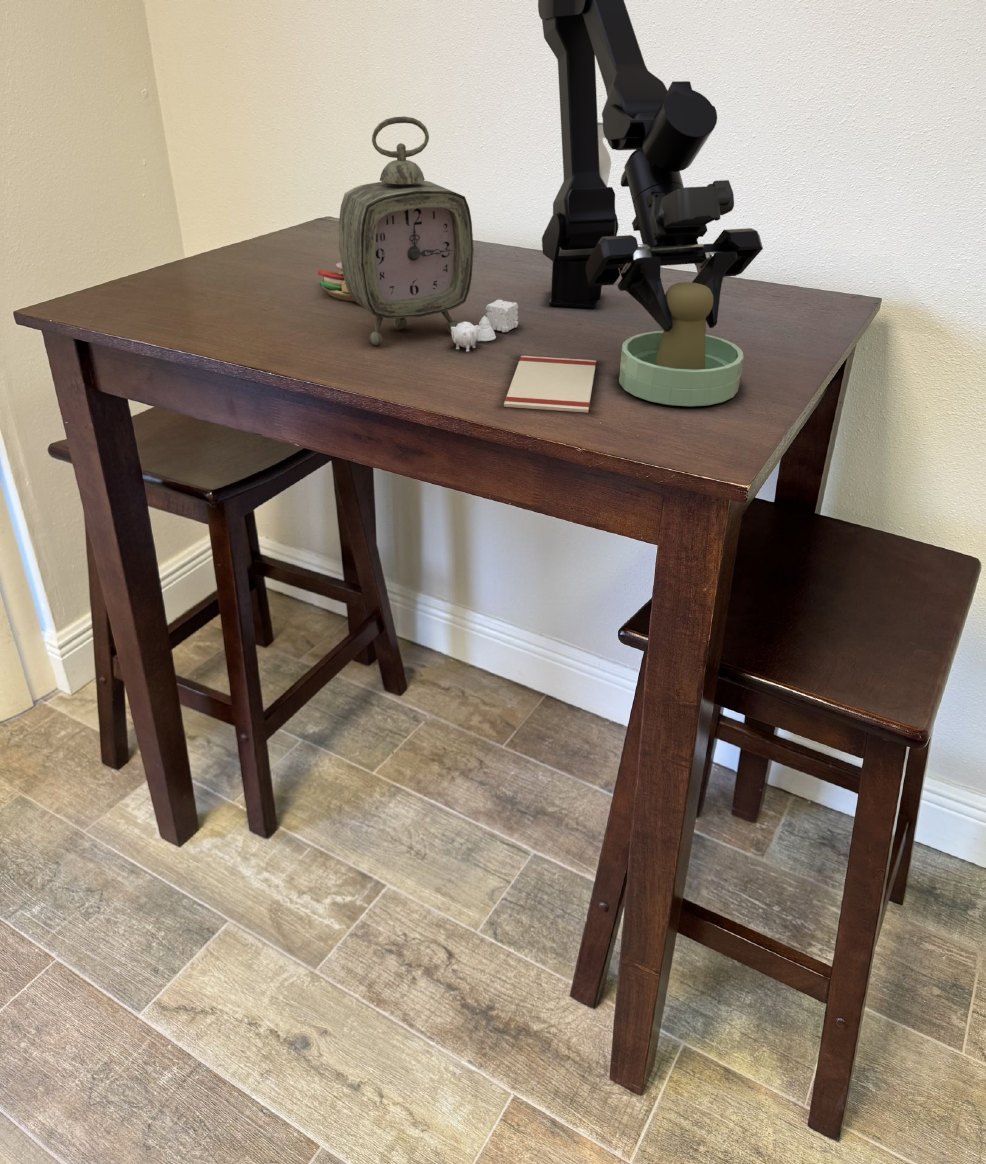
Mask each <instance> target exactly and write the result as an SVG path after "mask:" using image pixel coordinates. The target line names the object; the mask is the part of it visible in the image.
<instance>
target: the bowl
mask: <svg viewBox="0 0 986 1164" xmlns="http://www.w3.org/2000/svg"><path fill="white" fill-rule="evenodd" d="M663 331H664V330H655V331H648V332H643V333H638V334H635V335H633V336H630V337H628V338H627V339H625V341H623V343H622V344H621V355H620V367H619V377H618V383H619V385H620V386H621V387H622V388H623V390H624V391H625V392H627V393H629V394H631V395H632V396H634V397H636V398H639V399H642V400H645V401H647V402H652V403H657V404H661V405H665V406H666V405H667V406H676V407H677V406H678V407H680V406H681V407H703V406H704V407H705V406H712V405H715V404H721V403H725V402H726V401H728V400H730V399H732V398H734V397H735V396H736V394H737V393H738V391H739V388H740V382H741V376H742V369H743V366H744V365H743V364H744V358H745V357H744V353H743V350H742V349H741V348H740V347H739V346H737V344H735V343H733V342H731V341H728V340H727V339H725V338H721V337H718V336H715V335H712V334H707V333H706V348H705V369H700V370H688V369H674V368H668V367H662V366H657V365H655V363H656V359H657V355H658V351H659V347H660V343H661V339H662V335H663Z"/></svg>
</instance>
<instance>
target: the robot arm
mask: <svg viewBox="0 0 986 1164" xmlns="http://www.w3.org/2000/svg"><path fill="white" fill-rule="evenodd" d="M537 10H538V11H537V12H538V16H539V18H540V20H541V22H542V33H543V38H544V40H545V42H546V43H547V45H548V47H549V48H550V50H551V52H552V53H553V55H554V56H555V58H556V61H557V72H558V88H559V89H558V93H559V112H560V131H561V132H560V133H561V134H560V135H561V151H562V152H561V153H562V170H563V171H562V172H563V182H562V184H561V186H560V188H559V190H558V191H557V194H556V196H555V198H554V200H553V202H552V215H551V218H550V220H549V222H548V224H547V226H546V228H545V230H544V233H543V235H542V237H541V247H542V248H541V249H542V254H543V255H544V256H545V257H546V258H548V259H549V260H550V261H552V270H551V274H552V275H551V288H550V289H551V290H550V291H551V293H550V298H549V300H548V301H549V302H548V305H549V306H553V307H567V308H568V307H571V308H586V309H595V308H596V307H597V302H599V301H601V298H602V289H603V287H604V286H614V285H615V283H616V282H617V281H618V280H619V278H620V277H621V279H620V281H619V282H618V283H617V289H618V291H620V292H621V291H622V292H623V291H625V292H627V293H628V294H629V296H630V297H632V298H633V299H634V300H635V301H636V302H638V303H639V304H640V306H642V307H643V309H644V310H645V311H646V312H647V313H648V314H649V315H650V316H651V317H652V319H653V320H654V321H655V322H656V324H658V326H660V328H661V329H662V331H665V332H669V331H670V330H671V328H672V322H671V315H670V311H669V307H668V304H667V300H666V297H665V294H666V292H665V290H664V286H663V282H662V279H661V267H664V266H666V267H667V266H678V265H693V264H694V266H695V268H696V271H697V275H696V277H695V278H694V279H693V280H692V281H691V283H698V284H702V285H705V286H706V287H708V288H709V289H710V290H711V292H712V294H713V300H714V301H713V307H712V309H711V312H710V313H709V315H708V316H707V317H706V325H707V326H708V327H709V329H713V328H715V327H716V325H717V324H718V318H719V317H718V316H719V310H720V309H719V307H720V299H721V293H722V284H723V280H724V278H730V277H737V276H738V275H741V274H742V273H743V272H744V271H745V270H746V269H747V268H748V267H749V265H751V263H752V262H753V261H754V260H755V259H756V258H757V256H758V255H759V254H760V253H761V252H762V250H763V249H764V248H763V243H762V240H761V236H760V234H759V231H758V230H756V229H754V228H752V227H750V228H747V227H746V228H730V229H729V228H728V229H723V230H722V231H721V232H720V234H719V235H718V236H717V237H716V239H715V240H714V242H713V243H699V240H698V239H699V238H703V237H704V236H705V235H706V233H707V232H708V227H707V225H708V224H710V223H711V222H713V221H716V222H718V221H719V220H721V216H724V215H727V214H729V213H730V212H733V210H734V207H735V197H734V195H735V194H734V190H733V188H732V185H731V182H730V180H729V179H725V180H723V179H722V180H720V179H719V180H714V181H712V183H708V184H707V186H688V187H684V182H683V179H682V175H681V171H685V170H686V169H688V168H689V167H690V166H691V165H692V163H694V161H695V159H696V158H697V156H698V155H699V153H700V151H701V150H702V148H703V147H704V145H705V144H706V142H707V140H708V139H709V137H710V136H711V134H712V132H713V131H714V130H715V128H716V125H717V123H718V113H717V109H716V107H715V105H713V104H712V103H711V101H710V100H709V99H708V98H707V96H705V95H704V94H702V93H700V92H698V91H696V90H693V87H692V84H691V81H690V80H683V81H682V80H681V81H671V84H670V85H669V87H668V88H667V86H666V85H665V83H664V81H663V80H661V79H660V78H659V77H657V76H656V75H654V74H653V73H652V72H651V71H649V70H648V67H647V65H646V62H645V60H644V57H643V54H642V50H641V48H640V44H639V43H638V39H637V36H636V33H635V29H634V25H633V23H632V21H631V18H630V15H629V12H628V8H627V5H626V2H625V0H537ZM596 63H597V66H598V69H599V72H600V75H601V78H602V81H603V84H604V88H605V92H606V96H607V97H606V101H605V103H604V106H603V109H602V112H601V117H602V123H603V132H604V136H605V138H604V139H605V140H606V141H607V144H608V145H609V147H610V149H611V150H614V151H633V152H632V153H631V154H630V155H629V156H628V159H627V161H626V162H625V163H624V166H623V167H624V168H623V169H624V171H623V173H622V175H621V178H620V187H621V188H629V193H630V197H631V200H632V204H633V210H634V213H635V217H634V219H633V220H632V222H631V226H632V229H633V231H634V232H639V234H640V238H641V243H639V244H638V241H637V240H638V239H637V237H636V236H634V235H632V234H625V235H618V231H619V221H618V216H617V213H616V193H615V190H614V188H613V187H612V186H608V185H607V186H606V185H605V183H604V181H603V180H602V178H601V177H600V166H599V142H598V122H599V121H598V120H599V119H598V97H597V95H598V93H597V73H596Z"/></svg>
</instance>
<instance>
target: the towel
mask: <svg viewBox="0 0 986 1164" xmlns="http://www.w3.org/2000/svg"><path fill="white" fill-rule="evenodd" d="M518 360H519V361H518V364H517V366H516V369H515V372H514V375H513V376H512V377H513V378H512V380H511V383H510V386H509V388H508V391H507V394H506V397H505V399H504V403H503V407H504V408H515V409H517V408H518V409H529V410H530V409H532V410H544V411H558V412H573V413H584V414H585V413H587V414H589V410H590V404H591V397H592V392H593V386H594V379H595V373H596V367H597V360H594V359H579V358H564V357H547V356H531V355H520V357H519V359H518Z"/></svg>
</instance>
